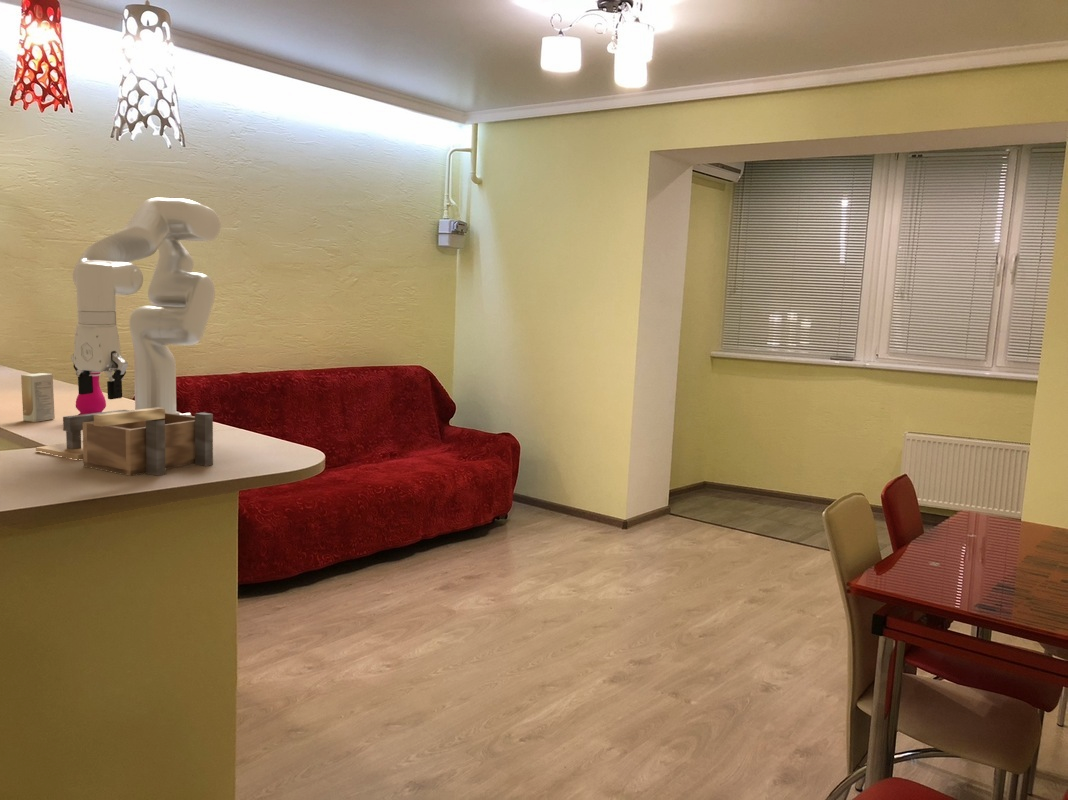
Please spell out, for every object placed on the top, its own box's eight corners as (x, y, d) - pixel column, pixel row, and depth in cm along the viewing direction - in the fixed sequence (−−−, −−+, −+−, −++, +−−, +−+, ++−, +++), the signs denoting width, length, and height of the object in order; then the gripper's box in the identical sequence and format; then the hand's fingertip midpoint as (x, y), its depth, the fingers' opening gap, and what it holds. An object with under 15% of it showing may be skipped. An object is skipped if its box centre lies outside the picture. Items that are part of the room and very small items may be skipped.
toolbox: (166, 452, 191) (165, 404, 190) (223, 462, 183) (223, 412, 182) (83, 466, 173) (82, 413, 172) (143, 478, 165) (143, 423, 164)
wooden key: (158, 417, 170) (157, 407, 170) (165, 418, 169) (164, 408, 169) (93, 425, 157) (93, 414, 157) (101, 426, 157) (100, 415, 156)
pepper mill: (112, 419, 231) (110, 345, 229) (95, 423, 224) (94, 347, 221) (86, 418, 232) (85, 344, 229) (69, 421, 225) (68, 345, 222)
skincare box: (43, 417, 229) (42, 372, 227) (55, 419, 227) (54, 373, 226) (21, 420, 223) (20, 374, 222) (33, 422, 221) (31, 375, 220)
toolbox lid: (117, 440, 203) (117, 406, 202) (166, 448, 195) (165, 412, 194) (35, 452, 185) (34, 415, 184) (85, 461, 177) (84, 422, 177)
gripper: (55, 317, 188) (59, 394, 191) (108, 322, 180) (111, 402, 183) (86, 315, 194) (90, 390, 197) (138, 321, 187) (141, 398, 189)
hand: (100, 396), depth 190 cm, fingers open, 9 cm apart
